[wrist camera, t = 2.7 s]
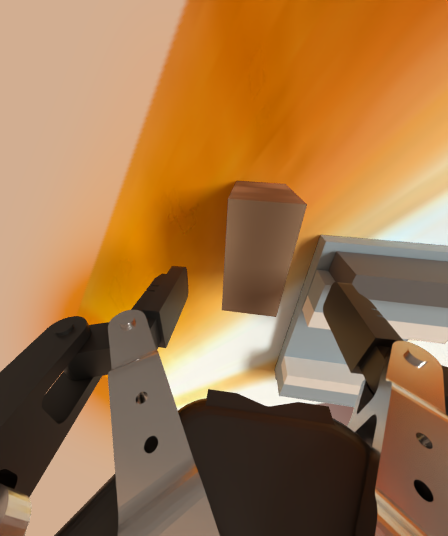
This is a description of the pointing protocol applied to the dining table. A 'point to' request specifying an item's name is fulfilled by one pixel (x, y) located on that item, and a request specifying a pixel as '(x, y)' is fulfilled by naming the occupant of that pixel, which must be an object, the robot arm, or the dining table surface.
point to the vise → (322, 340)
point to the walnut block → (259, 245)
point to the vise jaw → (389, 292)
